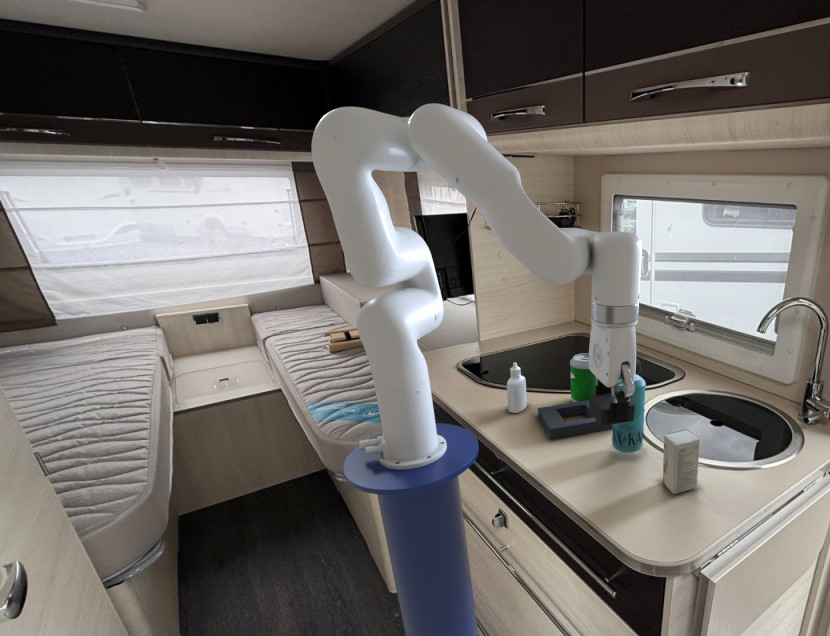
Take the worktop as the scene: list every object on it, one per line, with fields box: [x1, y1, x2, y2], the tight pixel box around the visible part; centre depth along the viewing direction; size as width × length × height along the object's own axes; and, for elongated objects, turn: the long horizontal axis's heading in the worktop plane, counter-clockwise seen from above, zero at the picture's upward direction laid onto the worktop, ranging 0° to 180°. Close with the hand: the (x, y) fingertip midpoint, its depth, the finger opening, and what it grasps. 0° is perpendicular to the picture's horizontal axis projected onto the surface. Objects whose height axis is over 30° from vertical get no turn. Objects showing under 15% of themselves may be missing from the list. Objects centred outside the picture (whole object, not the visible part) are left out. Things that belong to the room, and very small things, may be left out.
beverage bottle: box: [611, 358, 647, 454], centre depth 93 cm, size 6×7×20 cm
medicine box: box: [662, 428, 701, 495], centre depth 84 cm, size 5×4×10 cm
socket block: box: [537, 400, 613, 440], centre depth 108 cm, size 15×11×2 cm
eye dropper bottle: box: [506, 362, 528, 414], centre depth 113 cm, size 4×6×12 cm
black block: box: [589, 392, 634, 426], centre depth 81 cm, size 6×6×3 cm
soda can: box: [569, 352, 597, 403], centre depth 117 cm, size 8×8×12 cm
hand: (610, 412), depth 81 cm, fingers closed on black block, 6 cm apart
